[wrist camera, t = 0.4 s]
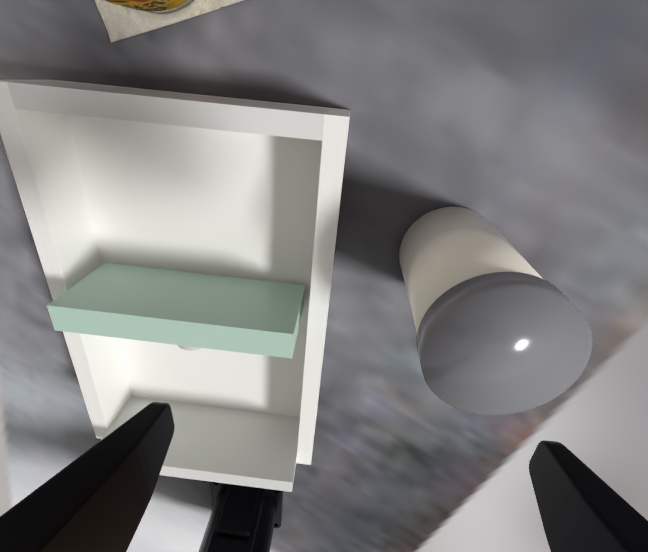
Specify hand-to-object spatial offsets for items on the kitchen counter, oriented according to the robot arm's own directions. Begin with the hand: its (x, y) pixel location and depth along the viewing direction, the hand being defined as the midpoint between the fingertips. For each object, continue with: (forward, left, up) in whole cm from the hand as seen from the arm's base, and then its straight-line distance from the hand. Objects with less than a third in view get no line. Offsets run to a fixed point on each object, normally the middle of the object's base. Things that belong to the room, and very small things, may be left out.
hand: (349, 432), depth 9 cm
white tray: (-5, +8, -14) cm, 17 cm away
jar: (-1, -6, -14) cm, 15 cm away
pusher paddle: (-5, +8, -12) cm, 16 cm away
